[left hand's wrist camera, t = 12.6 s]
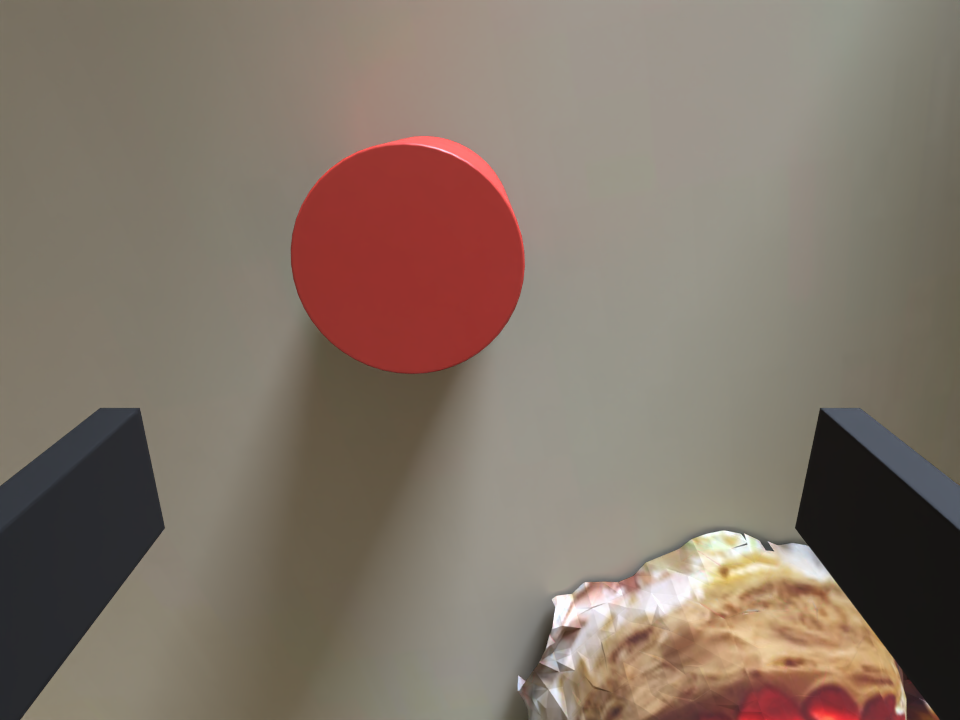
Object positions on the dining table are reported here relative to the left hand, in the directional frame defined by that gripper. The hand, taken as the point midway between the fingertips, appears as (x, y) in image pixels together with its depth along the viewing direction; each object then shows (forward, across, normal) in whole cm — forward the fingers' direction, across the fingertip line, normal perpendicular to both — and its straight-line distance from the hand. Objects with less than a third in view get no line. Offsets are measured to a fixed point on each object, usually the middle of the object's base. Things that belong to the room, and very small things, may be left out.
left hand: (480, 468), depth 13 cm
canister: (+16, +2, -2) cm, 17 cm away
